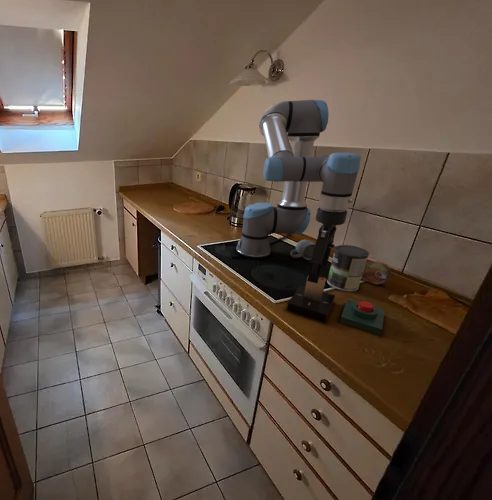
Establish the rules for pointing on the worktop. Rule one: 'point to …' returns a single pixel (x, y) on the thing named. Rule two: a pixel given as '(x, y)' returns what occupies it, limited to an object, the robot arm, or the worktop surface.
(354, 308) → the block
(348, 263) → the coffee can
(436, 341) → the worktop surface
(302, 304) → the black rectangular base
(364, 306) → the button
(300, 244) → the ceramic mug
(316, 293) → the tan upright slab
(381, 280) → the tin
